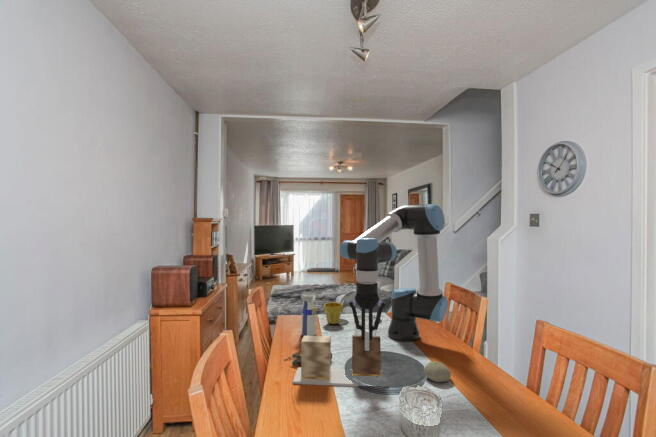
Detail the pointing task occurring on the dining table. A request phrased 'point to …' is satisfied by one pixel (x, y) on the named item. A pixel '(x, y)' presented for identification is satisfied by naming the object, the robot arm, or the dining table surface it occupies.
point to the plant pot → (333, 312)
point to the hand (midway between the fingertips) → (366, 348)
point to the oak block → (316, 357)
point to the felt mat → (335, 379)
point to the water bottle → (309, 314)
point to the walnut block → (366, 357)
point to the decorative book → (298, 358)
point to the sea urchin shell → (437, 372)
